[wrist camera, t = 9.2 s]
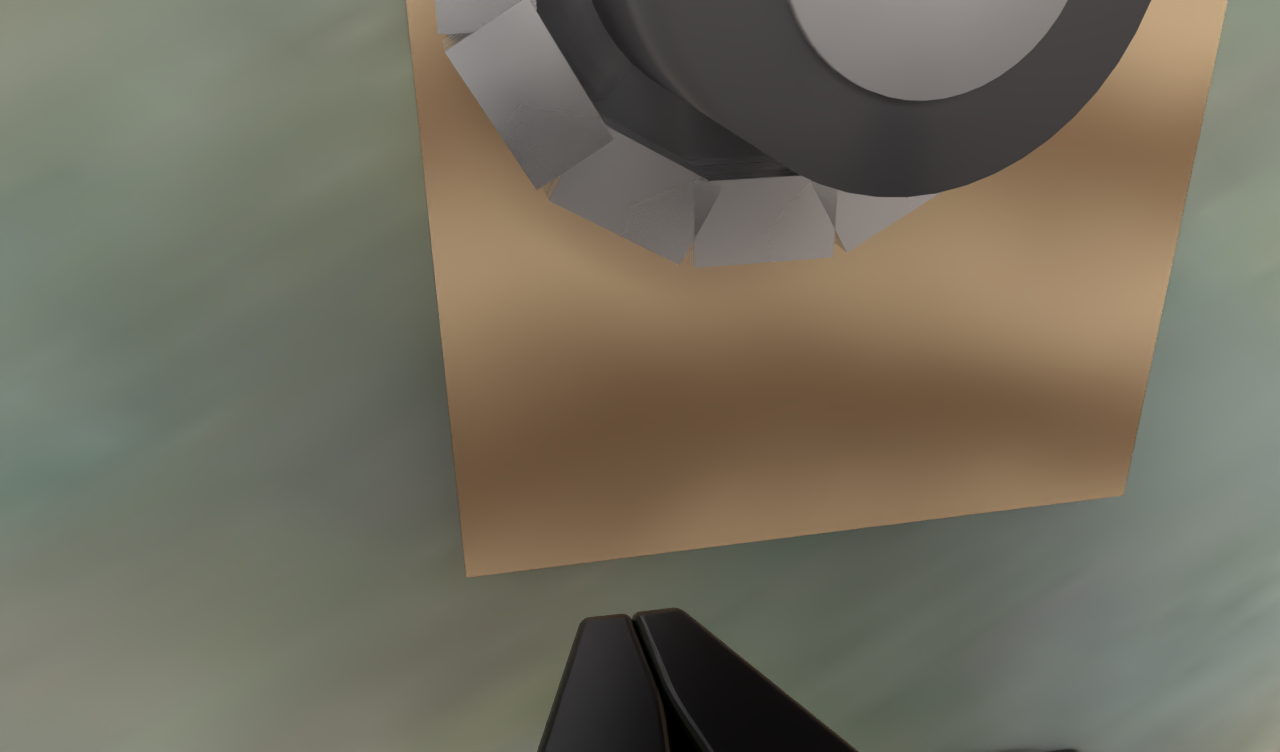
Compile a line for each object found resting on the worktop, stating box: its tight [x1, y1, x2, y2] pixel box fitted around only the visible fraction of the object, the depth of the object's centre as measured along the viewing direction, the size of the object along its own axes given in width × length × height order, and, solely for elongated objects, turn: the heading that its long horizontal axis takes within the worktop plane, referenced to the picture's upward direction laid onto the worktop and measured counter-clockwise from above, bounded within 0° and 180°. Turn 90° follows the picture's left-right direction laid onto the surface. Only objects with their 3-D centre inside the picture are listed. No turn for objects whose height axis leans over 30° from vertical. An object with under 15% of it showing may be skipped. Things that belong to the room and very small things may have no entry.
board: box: [406, 0, 1228, 578], centre depth 19 cm, size 18×15×1 cm
